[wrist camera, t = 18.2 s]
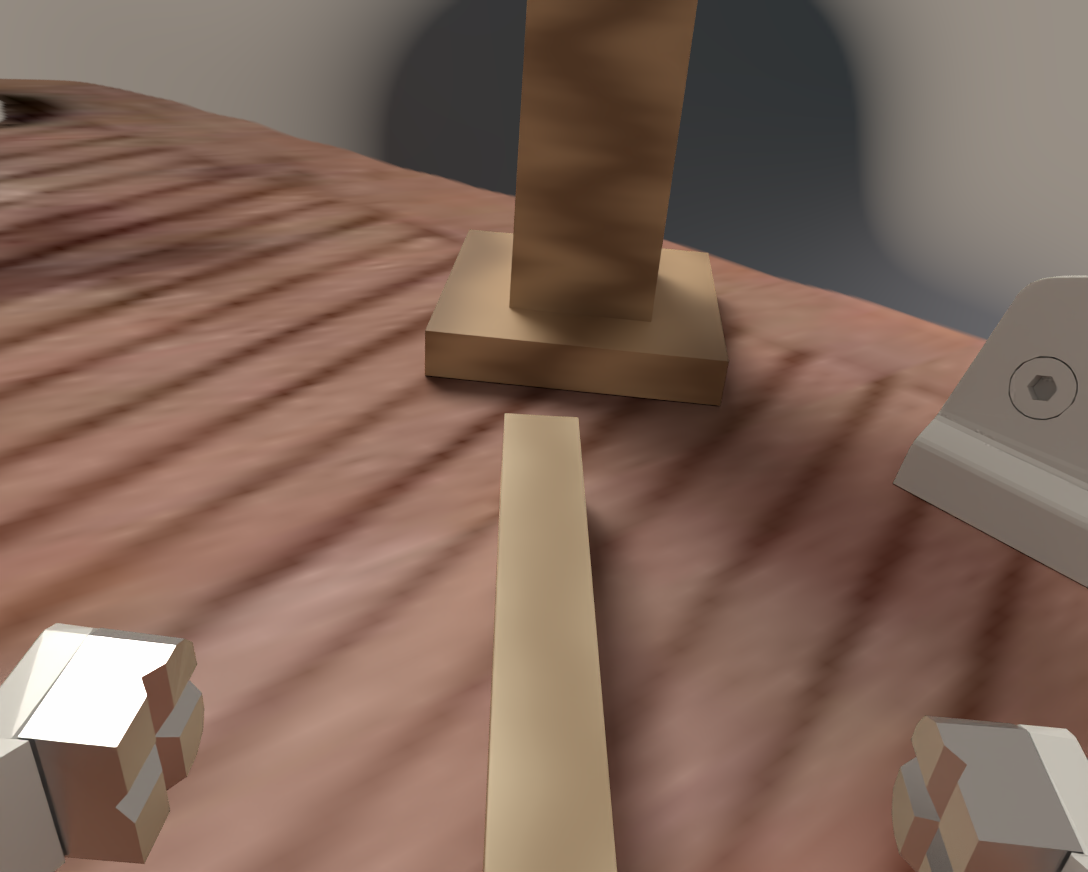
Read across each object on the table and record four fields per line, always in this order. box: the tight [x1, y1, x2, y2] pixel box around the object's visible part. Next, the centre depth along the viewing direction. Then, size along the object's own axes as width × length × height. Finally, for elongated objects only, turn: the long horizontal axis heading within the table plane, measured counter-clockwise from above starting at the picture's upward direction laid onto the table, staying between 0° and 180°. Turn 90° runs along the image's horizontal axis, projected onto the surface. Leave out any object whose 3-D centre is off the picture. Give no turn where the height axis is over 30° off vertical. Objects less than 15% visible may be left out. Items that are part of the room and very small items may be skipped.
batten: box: [483, 413, 617, 872], centre depth 24 cm, size 2×19×3 cm, turn 1°
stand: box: [425, 0, 729, 406], centre depth 37 cm, size 12×12×26 cm
